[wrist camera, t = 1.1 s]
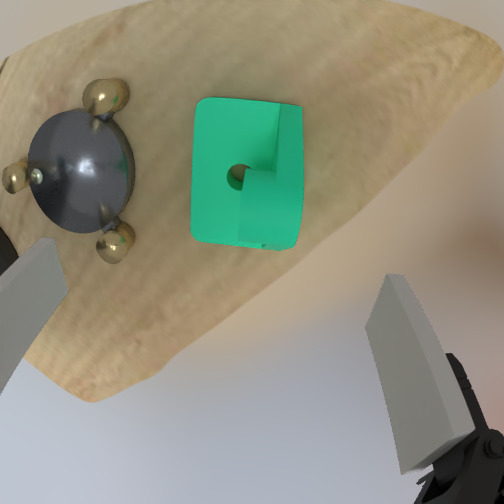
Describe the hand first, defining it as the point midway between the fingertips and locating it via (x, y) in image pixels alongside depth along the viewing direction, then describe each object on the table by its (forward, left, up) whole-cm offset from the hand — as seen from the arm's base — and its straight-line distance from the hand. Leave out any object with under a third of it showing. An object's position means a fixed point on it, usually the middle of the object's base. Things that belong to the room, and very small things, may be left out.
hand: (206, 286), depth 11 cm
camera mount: (0, 0, -16) cm, 16 cm away
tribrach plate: (-17, 0, -16) cm, 24 cm away
